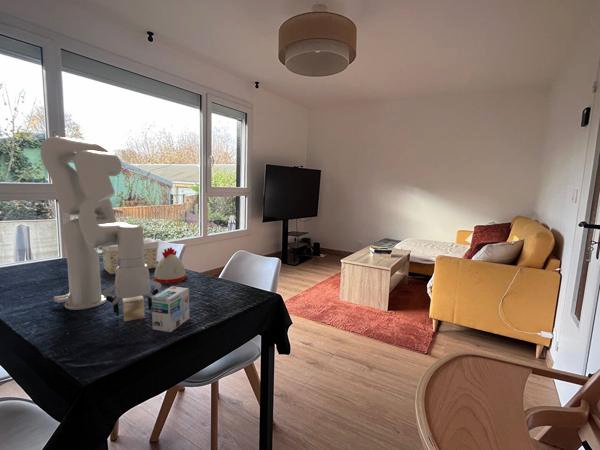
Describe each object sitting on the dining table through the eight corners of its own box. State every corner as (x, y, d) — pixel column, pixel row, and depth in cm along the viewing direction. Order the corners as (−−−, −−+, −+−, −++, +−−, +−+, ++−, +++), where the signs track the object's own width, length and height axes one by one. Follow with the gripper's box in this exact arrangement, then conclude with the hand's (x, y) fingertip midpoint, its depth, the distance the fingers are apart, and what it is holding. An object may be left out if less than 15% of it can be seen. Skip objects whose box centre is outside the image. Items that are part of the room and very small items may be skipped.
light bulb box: (170, 332, 92) (170, 299, 90) (151, 330, 93) (150, 296, 92) (190, 318, 102) (189, 287, 101) (172, 315, 103) (171, 285, 102)
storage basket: (150, 262, 172) (149, 236, 170) (160, 268, 160) (159, 241, 158) (100, 269, 155) (99, 240, 153) (108, 276, 144) (106, 246, 142)
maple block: (124, 321, 98) (123, 304, 97) (123, 314, 103) (122, 298, 102) (144, 317, 101) (144, 300, 101) (142, 311, 106) (142, 295, 106)
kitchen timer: (147, 280, 140) (146, 248, 138) (169, 272, 152) (169, 243, 150) (170, 284, 135) (170, 252, 133) (192, 276, 147) (191, 246, 146)
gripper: (100, 268, 92) (103, 321, 94) (161, 261, 101) (163, 310, 103) (100, 262, 98) (103, 312, 100) (158, 257, 108) (160, 302, 110)
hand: (134, 311), depth 102 cm, fingers open, 9 cm apart
